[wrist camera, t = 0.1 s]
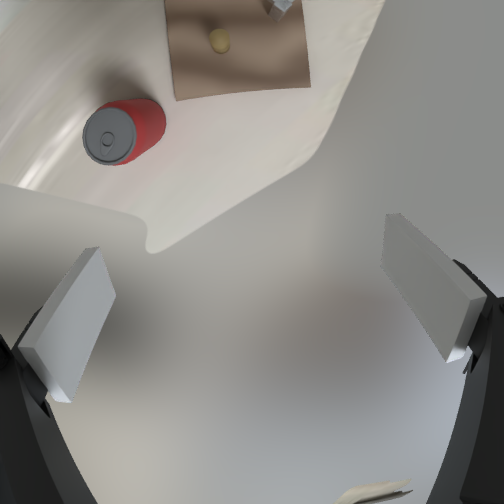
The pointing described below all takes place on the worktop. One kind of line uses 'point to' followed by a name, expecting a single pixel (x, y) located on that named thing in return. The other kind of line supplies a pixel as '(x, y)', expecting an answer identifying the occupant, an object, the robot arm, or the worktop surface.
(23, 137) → the worktop surface
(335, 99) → the worktop surface
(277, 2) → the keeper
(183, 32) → the board
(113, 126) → the beer can
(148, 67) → the worktop surface
